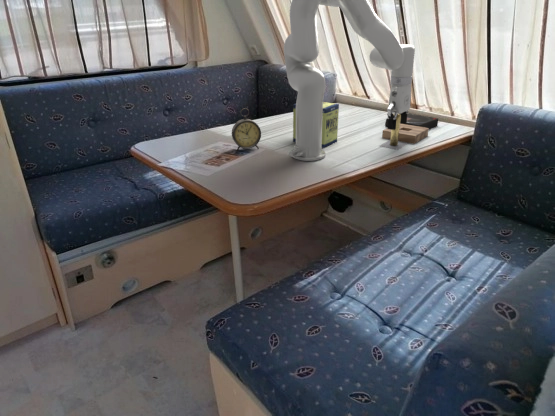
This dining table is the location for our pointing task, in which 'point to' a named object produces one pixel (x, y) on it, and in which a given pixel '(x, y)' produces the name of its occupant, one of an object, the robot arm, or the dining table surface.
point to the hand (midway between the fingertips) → (396, 126)
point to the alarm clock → (246, 133)
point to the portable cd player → (419, 121)
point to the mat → (387, 145)
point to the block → (408, 133)
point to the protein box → (324, 123)
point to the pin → (395, 132)
